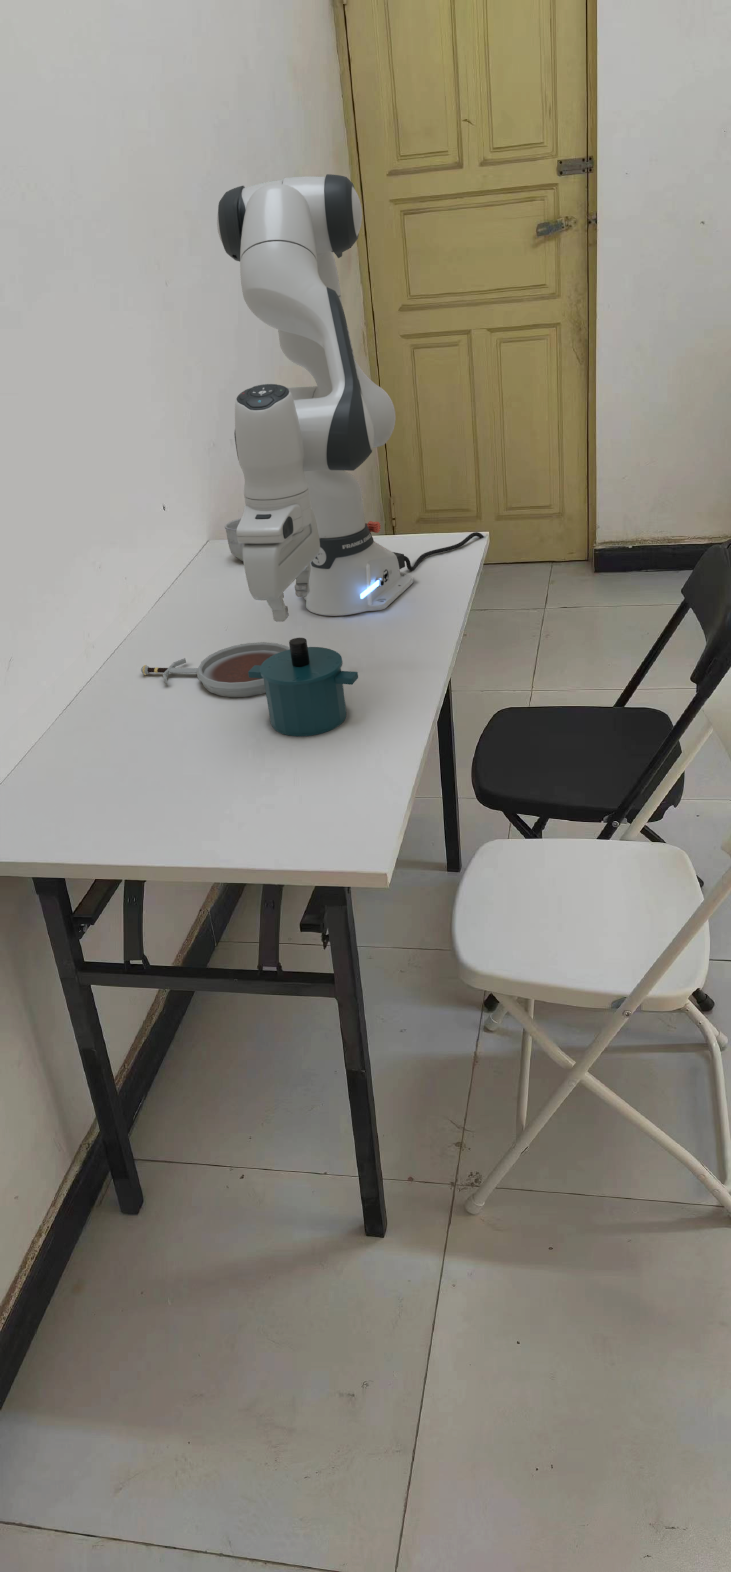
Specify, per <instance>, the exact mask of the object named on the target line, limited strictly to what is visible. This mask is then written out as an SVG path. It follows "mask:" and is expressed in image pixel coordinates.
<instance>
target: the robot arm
mask: <svg viewBox="0 0 731 1572" xmlns="http://www.w3.org/2000/svg"><path fill="white" fill-rule="evenodd" d="M362 208H363V207H362V204H361V200H360V197H359V195H358V193H357V191H356V189H355V185H354V183H353V182H352V181H351V180H350V179H349V178H348V177H347V176H346V175H345V176H344V175H339V174H331V173H327V174H325V176H317V175H314V176H313V175H306V176H305V175H303V176H288V177H287V176H286V177H284V178H283V179H277V180H270V181H266V182H265V181H264V182H261V183H255V184H253V185H249V186H246V187H245V185H240V186H237V187H233V188H231V189H229V190H227V191H226V192H225V193H223V196H222V197H221V198H220V200H219V201H218V206H217V215H216V227H217V233H218V237H219V239H220V242H221V244H222V246H223V249H224V251H225V253H226V254H227V255H228V256H229V257H231V259H233V260H234V261H236V262H239V268H240V269H239V273H240V275H239V277H240V285H241V291H242V292H241V293H242V296H243V297H242V298H243V300H244V302H245V304H246V305H247V307H248V309H249V310H250V311H251V313H252V314H253V315H254V316H255V317H256V318H257V319H259V320H260V321H261V322H263V323H264V324H266V325H267V326H269V327H271V328H273V329H276V330H277V333H278V334H277V335H278V340H279V347H280V349H281V351H282V353H283V355H284V356H285V357H286V358H287V359H288V360H289V361H290V362H291V363H293V364H295V365H298V366H299V367H302V368H304V370H306V371H307V372H308V373H309V374H310V375H311V376H312V379H314V381H315V383H316V386H315V385H314V386H292V387H286V386H284V385H281V384H277V383H265V384H257V385H254V386H252V387H250V388H247V389H244V390H243V391H242V392H240V393H239V394H238V395H237V396H236V397H235V401H234V435H233V436H234V442H235V449H236V455H237V461H238V464H239V466H240V468H241V471H242V473H243V474H242V475H243V478H244V479H243V480H244V485H243V497H244V506H243V512H242V515H241V517H240V518H241V520H240V523H239V525H238V527H237V530H236V535H237V540H238V543H242V544H244V546H243V561H242V562H243V567H244V572H245V573H244V574H245V577H246V583H247V587H248V591H249V593H250V595H251V596H252V598H253V599H254V600H255V601H266V603H267V605H268V606H269V607H270V609H271V611H272V618H273V620H274V621H275V622H277V623H278V622H279V623H282V622H283V623H284V622H286V620H288V618H289V616H290V614H289V607H288V605H286V604H285V602H284V598H285V594H284V593H285V591H286V590H287V589H288V588H289V587H290V586H291V585H292V584H293V583H294V582H295V584H294V585H293V586H294V587H293V588H294V591H295V596H296V597H297V598H303V599H304V600H305V601H306V602H305V608H306V610H308V611H309V612H310V613H313V614H316V615H320V616H329V617H330V616H331V617H338V616H349V615H357V614H359V613H364V612H375V611H383V610H385V609H387V608H388V607H389V606H390V604H392V603H393V602H394V601H395V600H396V599H397V598H399V596H401V594H403V593H404V592H405V591H406V590H407V589H408V588H409V587H411V585H413V583H414V578H413V577H412V576H411V575H410V574H407V573H404V572H401V570H402V569H404V568H406V569H407V570H408V571H410V572H412V571H415V569H416V568H417V567H418V566H420V563H421V562H422V561H423V560H424V559H425V558H427V557H430V556H433V555H436V554H441V553H445V552H449V551H454V550H457V549H459V548H461V547H463V546H464V545H466V544H467V543H468V542H469V541H471V540H472V539H473V538H475V537H478V538H479V539H483V538H484V537H485V536H484V535H483V534H482V533H480V532H479V531H474V532H471V533H470V534H468V535H467V536H466V537H465V538H464V539H463V540H461V541H460V542H458V543H455V544H452V545H449V546H445V547H441V548H437V549H432V550H429V551H425V552H424V553H422V554H421V555H419V557H418V558H417V559H416V560H415V562H414V564H413V565H412V564H411V561H410V560H411V559H410V558H409V557H408V556H406V555H405V554H404V553H400V552H396V551H391V550H390V549H388V548H387V547H384V546H383V545H381V544H379V543H378V542H376V541H374V536H373V535H372V533H376V534H378V533H380V531H381V528H382V526H381V525H382V524H381V523H380V522H379V521H372V520H369V521H368V522H367V523H366V516H365V508H364V507H365V506H364V499H363V489H362V486H361V484H360V482H359V481H358V479H357V478H356V477H355V476H354V475H353V474H352V473H350V471H351V472H352V471H356V469H358V468H359V467H360V466H361V465H362V464H364V462H366V460H367V459H368V458H369V457H370V456H371V454H372V453H373V449H376V448H380V447H383V446H385V445H386V444H387V443H388V441H389V440H390V438H391V437H392V435H393V432H394V430H395V427H396V426H395V425H396V419H397V418H396V409H395V405H394V403H393V400H392V399H391V397H390V395H389V394H388V392H387V391H386V390H385V389H384V388H382V387H381V386H379V385H378V384H377V383H375V382H374V381H373V380H372V379H370V378H369V377H368V376H367V374H366V373H365V372H364V371H363V369H362V368H361V366H360V365H359V363H358V362H357V360H356V358H355V354H354V349H353V344H352V340H351V335H350V331H349V327H348V323H347V319H346V316H345V311H344V306H343V301H342V292H341V285H340V284H341V283H340V279H339V278H340V277H339V271H338V267H337V263H336V258H337V259H340V258H342V257H343V253H344V252H346V251H348V250H350V249H351V248H352V247H353V246H354V244H356V242H357V240H358V239H359V235H360V230H361V227H362V221H363V209H362ZM335 256H336V258H335ZM348 471H349V472H348Z"/></svg>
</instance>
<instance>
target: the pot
mask: <svg viewBox="0 0 731 1572" xmlns="http://www.w3.org/2000/svg"><path fill="white" fill-rule="evenodd" d="M248 674H249V678H262V679H264V678H263V677H262V676H261V673H260V665H255V666H254V667H252V668H251V669H250V670H249V671H248ZM358 679H359V672H358V671H352V670H342V667H341V668H340V670H339V671H338V672H336V673H335V674H334V675H332V676H330V677H328V678H326V679H323V680H320V681H317V682H313V683H309V684H302V685H280V684H275V683H271V682H269V681H267V680H265V679H264V685H265V691H266V693H265V697H266V702H267V703H266V704H267V707H268V708H267V709H268V715H269V721H270V724H271V727H272V728H273V730H274V731H276V732H278V733H279V734H282V735H284V736H291V737H310V736H316V735H321V734H325V733H327V732H330V731H332V730H334V729H336V728H338V727H339V726H340V725H342V724H343V723H344V721H345V720H346V719H347V705H346V699H345V689H344V685H350V686H352V685H354V684H355V682H356V681H357V680H358Z"/></svg>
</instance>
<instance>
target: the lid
mask: <svg viewBox="0 0 731 1572" xmlns="http://www.w3.org/2000/svg"><path fill="white" fill-rule="evenodd" d="M288 645H289V646H288V647H289V648H290V650H286V651H283V652H280V653H277V654H275V655H273V656H271V657H269V658H268V659H266V660H265V661H264V662H263V663H262V664H261V666H260V673H261V676H262V677H263V678H264V679H265V680H267V681H269V682H271V683H275V684H280V685H302V684H309V683H313V682H317V681H320V680H323V679H326V678H328V677H330V676H332V675H334V674H335V673H336V672H338V671H339V670H340V668H341V669H342V667H343V664H344V663H343V657H342V655H341V653H339V652H338V651H336V650H333V649H331V648H327V647H320V646H308V640H307V638H305V637H294V638H292V639H290V640H289V641H288Z"/></svg>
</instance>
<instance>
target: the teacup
mask: <svg viewBox="0 0 731 1572" xmlns="http://www.w3.org/2000/svg"><path fill="white" fill-rule="evenodd" d="M241 518H242V517H240V518H236V519H233V520H231V521H229V522H227V523H225V524H224V529H225V534H226V539H227V543H228V548H229V551H230V553H231V555H233V556H234V557H235V558H237V559H238V560H239V561H241V562H243V546H244V544H242V543H238V540H237V535H236V530H237V527H238V525H239V523H240V520H241Z"/></svg>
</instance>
